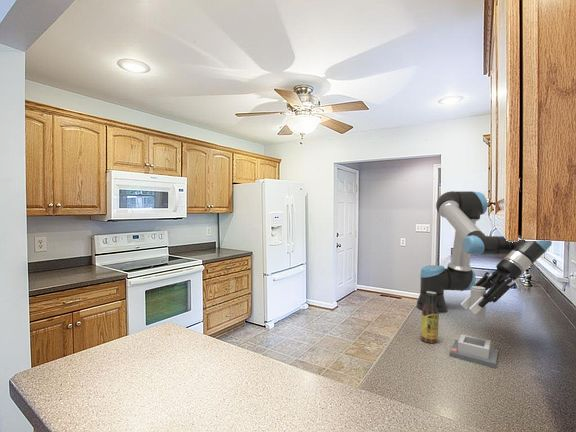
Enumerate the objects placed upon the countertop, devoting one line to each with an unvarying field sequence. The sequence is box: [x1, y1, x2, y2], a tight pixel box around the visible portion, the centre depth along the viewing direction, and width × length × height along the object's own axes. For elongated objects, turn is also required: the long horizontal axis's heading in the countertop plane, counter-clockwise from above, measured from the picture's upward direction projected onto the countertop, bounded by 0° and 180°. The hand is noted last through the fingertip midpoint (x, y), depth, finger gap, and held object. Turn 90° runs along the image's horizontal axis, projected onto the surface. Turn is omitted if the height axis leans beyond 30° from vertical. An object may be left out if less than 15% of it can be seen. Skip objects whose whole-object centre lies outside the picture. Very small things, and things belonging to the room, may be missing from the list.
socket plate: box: [449, 334, 499, 369], centre depth 114 cm, size 14×14×5 cm
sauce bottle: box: [420, 291, 440, 344], centre depth 126 cm, size 6×6×20 cm
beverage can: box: [469, 286, 487, 322], centre depth 114 cm, size 5×5×12 cm
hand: (467, 309), depth 114 cm, fingers closed on beverage can, 5 cm apart
